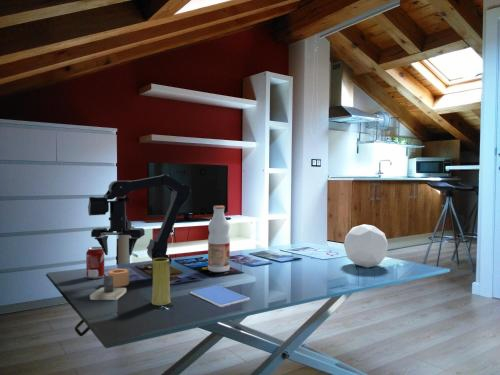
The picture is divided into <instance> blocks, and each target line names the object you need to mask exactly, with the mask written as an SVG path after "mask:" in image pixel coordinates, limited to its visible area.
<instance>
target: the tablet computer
mask: <svg viewBox="0 0 500 375" xmlns="http://www.w3.org/2000/svg"><path fill="white" fill-rule="evenodd" d="M189 293H190V294H191V295H194V296H195V297H198V298H199V299H202V300H204V301H206V302H209V303H210V304H213V305H214V306H216V307H219V308H224V307H228V306H232V305H236V304H239V303H244V302H247V301H250V300H251V299H250V297H249V296H245V295H244V294H240V293H238V292H236V291H234V290H230V289H228V288H225V287H223V286H220V285H213V286H208V287H203V288H199V289H194V290H191V291H190V292H189Z"/></svg>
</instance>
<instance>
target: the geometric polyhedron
mask: <svg viewBox="0 0 500 375" xmlns="http://www.w3.org/2000/svg"><path fill="white" fill-rule="evenodd" d="M344 238H345V239H344V243H343V247H344V250H345V254H346V258H347V259H349V261H351V262H352V263H353V264H355V265H357V266H360V267H364V268H367V269H368V268H371V267H375V266H379V265H380V264H381V263H382V262H383V261H384V260H385V258H386V257H387V256H388V248H389V242H388V239H387V237H386V234H385V232H383V231H381V229H379V228H378V227H376V226H375V225H371V224H365V223H364V224H360V225H357V226H354V227H353V226H352V228H351V229H350V230H349V231H348V232H347V234H346V235H345V237H344Z"/></svg>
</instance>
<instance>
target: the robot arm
mask: <svg viewBox="0 0 500 375" xmlns="http://www.w3.org/2000/svg"><path fill="white" fill-rule="evenodd" d="M158 186H164V187H166V189H168V190H169V191H170V192H171V195H170V204H169V207H168V208H167V211H166V214H165V216H164V219H163V222H162V223H161V226H160V228H159V231H158V233H157V235H156V237H155V238H154V239H152V238H150V239H149V243H148V246H147V247H146V249H147V250H146V253H147V257H148V258H150V259H151V260H152V262H153V259H155V258H168V259H169V277H170V278H171V277H172V274H171V264H172V261H173V259H172V258H170V256H168V255H167V252H168V241H169V238H170V235H171V233H172V231H173V229H174V225H175V223H176V220H177V218H178V216H179V214H180V212H181V208H182V207H183V206H184V204H185V203H186V202H187V201H188V199H189V198H190V196H191V194H192V190H191V187H190V186H188V184H183V183H181V182H179V181H178V180H176V179H174V178H173V177H171V176H170V175H169V174H161V175H158V176H157V175H156V176H152V177H147V178H141V179H140V178H139V179H136V180H114V181H111V182H110V184H109V185H108V188H107V189H108V190H107V192H106V193H105V194H104V195H103V196H100V197H99V196H96V197H95V196H89V197H88V205H87V211H88V212H87V213H88V216H89V217H90V216H105V215H106V213H109V217H108V221H109V228H107V227H95V228H93V229H92V230H91V231H90V237H91V238H94V240H96V241H97V242H98V244H99V245H100V247H102V249H103V251H104V256H108V255H109V248H108V238H109V236H129V238H128V254H129V256H132V254H133V251H134V248H135V245H136V243H137V241H138V240H139V239H140V238H142V237H144V236H145V235H146V234H145V233H146V232H145V229H144V228H143V227H134V228H132V222H131V221H130V220H128V216H127V209H126V208H127V206H126V205H127V204H126V203H131V202H132V200H131V199H130V198H129V197H128V194H130V193H133V192H134V191H139V190H143V189H147V188H148V189H150V188H154V187H158ZM150 269H151V271H150V272H151V274H150V275H151V276H150V277H151V278H150V279H151V281H153V266H152V267H151V268H150Z"/></svg>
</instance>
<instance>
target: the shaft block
mask: <svg viewBox="0 0 500 375" xmlns="http://www.w3.org/2000/svg"><path fill="white" fill-rule="evenodd" d="M126 293H127V287H113V276H108V275H106V276H105V275H104V276H103V287H100V288H98V289H97V290H95V291H94V292H92V293H91V294H90V295H89V300H91V301H92V300H93V301H94V300H95V301H99V300H100V301H101V300H102V301H118V300H119V299H120V298H121V297H123V296H124V294H126Z"/></svg>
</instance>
